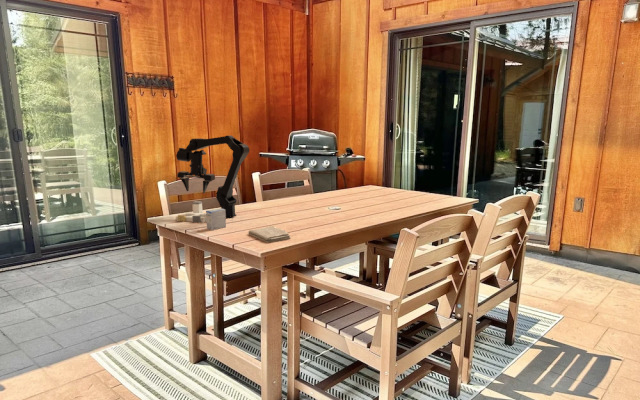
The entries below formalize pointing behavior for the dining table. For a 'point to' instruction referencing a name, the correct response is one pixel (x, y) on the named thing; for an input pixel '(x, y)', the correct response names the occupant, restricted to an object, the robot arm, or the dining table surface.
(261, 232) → the washcloth
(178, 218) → the socket block
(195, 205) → the plug
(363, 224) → the dining table surface
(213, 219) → the medicine box
